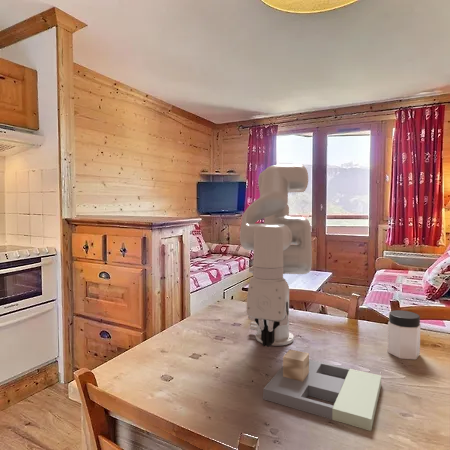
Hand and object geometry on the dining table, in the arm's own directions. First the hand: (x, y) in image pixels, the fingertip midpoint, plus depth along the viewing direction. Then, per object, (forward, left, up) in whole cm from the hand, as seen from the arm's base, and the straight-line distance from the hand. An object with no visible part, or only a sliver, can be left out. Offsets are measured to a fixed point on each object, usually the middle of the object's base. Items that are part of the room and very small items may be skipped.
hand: (267, 344), depth 88 cm
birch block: (+7, +1, -6) cm, 10 cm away
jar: (+30, +34, -9) cm, 46 cm away
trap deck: (+14, +1, -9) cm, 17 cm away
